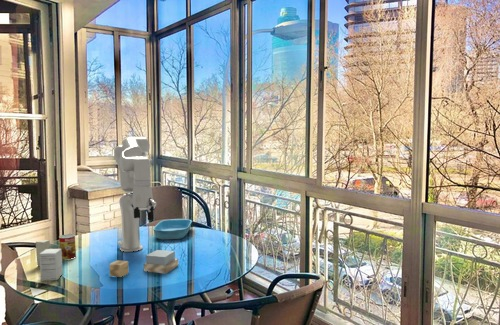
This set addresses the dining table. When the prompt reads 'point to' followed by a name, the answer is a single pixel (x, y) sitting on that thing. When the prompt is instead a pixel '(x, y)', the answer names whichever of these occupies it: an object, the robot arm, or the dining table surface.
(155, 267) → the birch slab
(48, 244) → the box
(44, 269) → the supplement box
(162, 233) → the casserole dish
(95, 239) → the dining table surface
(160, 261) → the slate block
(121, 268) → the block
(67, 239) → the canned food
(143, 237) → the dining table surface
